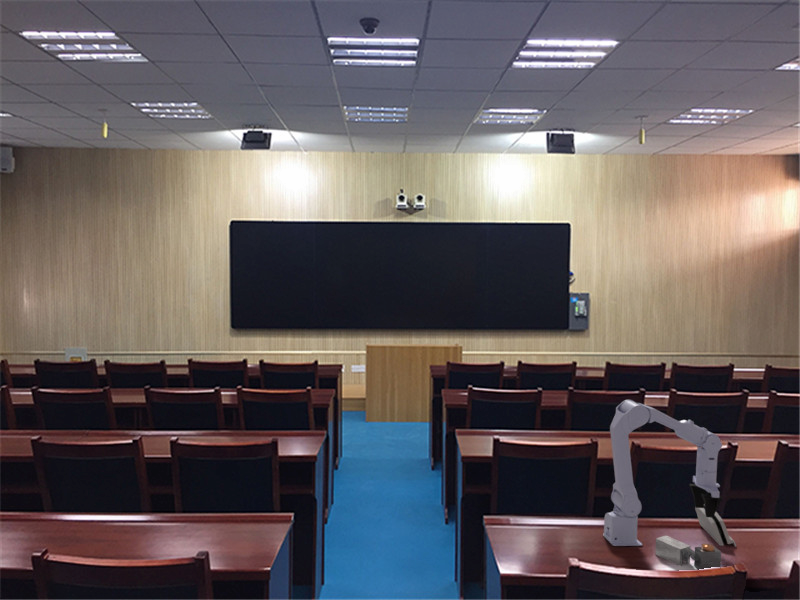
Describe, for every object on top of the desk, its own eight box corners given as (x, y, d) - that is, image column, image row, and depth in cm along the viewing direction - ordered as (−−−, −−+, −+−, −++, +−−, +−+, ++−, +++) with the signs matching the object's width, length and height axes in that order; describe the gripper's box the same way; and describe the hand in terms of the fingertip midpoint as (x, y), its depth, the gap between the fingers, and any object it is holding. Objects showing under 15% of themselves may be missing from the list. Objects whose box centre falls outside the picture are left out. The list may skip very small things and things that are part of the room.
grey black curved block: (737, 547, 181) (726, 516, 181) (721, 551, 182) (711, 520, 182) (715, 525, 198) (705, 497, 198) (701, 529, 198) (691, 501, 198)
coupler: (700, 570, 165) (701, 548, 165) (679, 553, 175) (680, 532, 175) (720, 570, 165) (721, 548, 165) (698, 553, 176) (699, 532, 176)
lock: (655, 554, 174) (656, 538, 174) (665, 551, 177) (666, 535, 177) (679, 566, 167) (680, 549, 167) (689, 562, 170) (690, 546, 170)
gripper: (730, 477, 175) (728, 522, 176) (709, 463, 190) (707, 504, 190) (706, 476, 176) (704, 520, 176) (686, 462, 190) (685, 503, 191)
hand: (704, 512), depth 183 cm, fingers open, 7 cm apart
